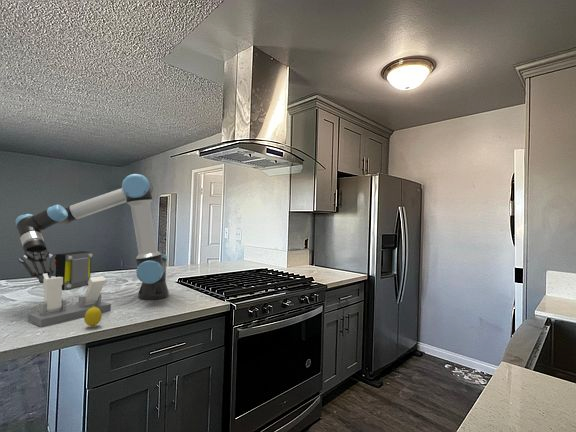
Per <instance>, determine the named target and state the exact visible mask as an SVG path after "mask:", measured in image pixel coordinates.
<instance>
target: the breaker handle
mask: <svg viewBox="0 0 576 432" xmlns="http://www.w3.org/2000/svg"><path fill="white" fill-rule="evenodd" d="M106 283H107V279H106V277H105V276H104V275H100V276H99V275H98V276H92V277H90V279H89V281H88V285H87V288H86V290H85V293H84V295H83V296H85V304H88V303H93V302H97V300H98V297H99V295H100V293H101V292H102V289H103V287H104V286H105V284H106Z"/></svg>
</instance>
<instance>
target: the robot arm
mask: <svg viewBox="0 0 576 432" xmlns="http://www.w3.org/2000/svg"><path fill="white" fill-rule="evenodd" d="M152 183H153V182H151V180H149V178H147V177H146V176H145V175H142V174H140V173H139V174H138V173H132V174H129V175H126V177H125V178H124V179H123V180H122V184H121V188H118V189H115V190H112V191H110V192H106V193H103V194H100V195H98V196H95V197H92V198H88V199H86V200H83V201H80V202H78V203H74V204H71V205H69V206H66V207H64V206H62V205H61V204H54V205H52V206H49V207H47V208H46V209H43V210H42V211H39V212H38V213H35V214H33V213H32V214H31V213H26V214H21V215H19V216H17V218H16V219H15V221H14V222H15V228H16V230H17V233H18V235H19V239H20V242H21V246H22V249H23V252H24V255H21V256H19V258H18V262H19V263H21V264H22V265H23V266H24V268H25V269H26V270H27V273H29V275H30V276H31V277H32V278H34V277H35V278H36V279H37V280H38V282H39V283H40V284H43V281H44V279H46V278H52V275H53V274H54V273H55V272H56V265H55V261H56V260H55V257H56V254H57V253H53V254H51V253H50V252H49V251H48V249H47V246H46V242H45V239H44V237H43V234H42V231H44V230H47V229H48V228H49V227H52V226H54V225H68V224H70V223H73V222H74V221H76V220H79V219H82V218H85V217H88V216H91V215H93V214H96V213H99V212H102V211H105V210H108V209H110V208H113V207H116V206H119V205H122V204H125V203H126V204H127V205H129V206H130V208H131V215H132V220H133V221H132V222H133V227H134V228H133V229H134V232H135V239H136V245H137V252H138V255H137V256H136V257H135V259H136V262H135V263H136V266H137V267H136V272H135V273H136V277H137V279H138V280H139V281H140V282H141V286H139V290H138V293H137V298H138V299H140V300H144V301H145V300H146V301H152V300H161V299H165V298H167V297H169V292H170V291H169V288H168V286H167V282H166V280H167V278H166V276H167V261H168V260H167V259H168V257H167V255H166V254H164V253H163V254H162V253H161V252H160V251H158V247H157V240H156V234H155V228H154V226H155V225H154V221H153V216H152V208H151V203H152V202H153V195H152V194H153V189H154V188H153V184H152ZM47 258H48V260H49V265H48V261H47ZM43 290H45V286H43Z"/></svg>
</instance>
